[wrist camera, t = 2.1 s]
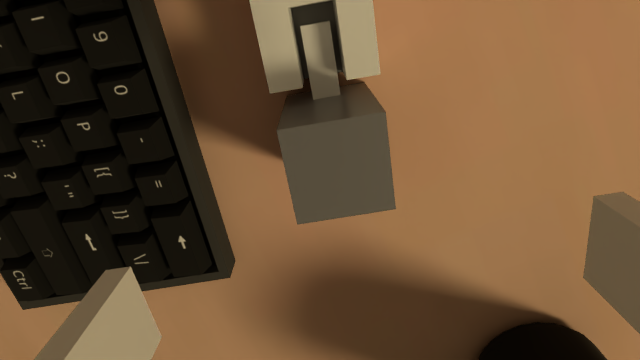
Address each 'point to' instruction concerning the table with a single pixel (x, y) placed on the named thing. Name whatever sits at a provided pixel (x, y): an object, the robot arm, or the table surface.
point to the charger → (334, 141)
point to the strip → (287, 45)
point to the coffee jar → (541, 344)
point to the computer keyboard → (98, 155)
